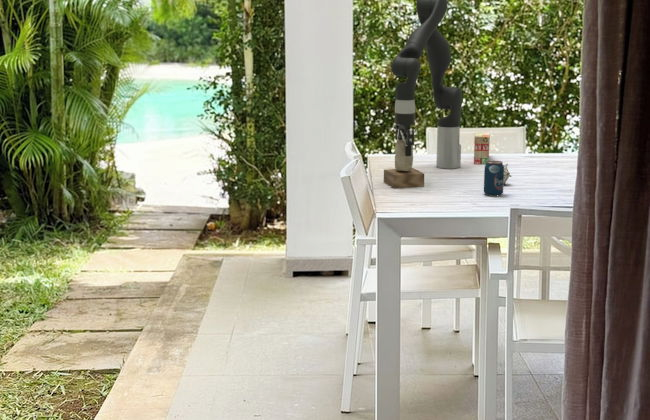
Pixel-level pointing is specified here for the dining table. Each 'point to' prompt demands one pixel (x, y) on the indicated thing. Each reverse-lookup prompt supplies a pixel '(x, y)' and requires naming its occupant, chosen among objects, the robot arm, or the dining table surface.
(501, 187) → the soda can
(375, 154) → the dining table surface
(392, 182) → the walnut block
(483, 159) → the cardboard product box
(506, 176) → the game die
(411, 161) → the carving
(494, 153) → the dining table surface
